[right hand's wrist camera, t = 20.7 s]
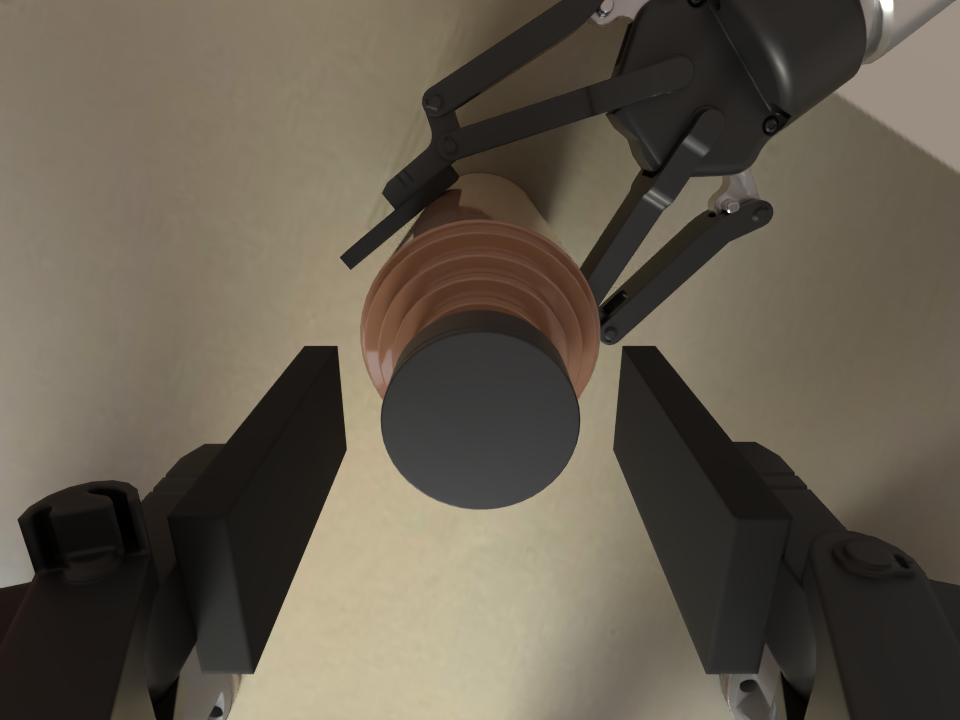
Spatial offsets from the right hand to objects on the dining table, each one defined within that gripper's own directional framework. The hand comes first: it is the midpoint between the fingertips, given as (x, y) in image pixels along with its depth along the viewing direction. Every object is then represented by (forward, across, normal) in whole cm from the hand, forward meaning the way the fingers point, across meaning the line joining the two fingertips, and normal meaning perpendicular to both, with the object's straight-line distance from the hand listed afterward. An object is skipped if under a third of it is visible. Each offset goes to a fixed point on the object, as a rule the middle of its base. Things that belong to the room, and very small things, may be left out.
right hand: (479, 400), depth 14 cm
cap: (-1, 0, 0) cm, 1 cm away
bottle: (+23, 0, 0) cm, 23 cm away
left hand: (+16, -4, -3) cm, 17 cm away
